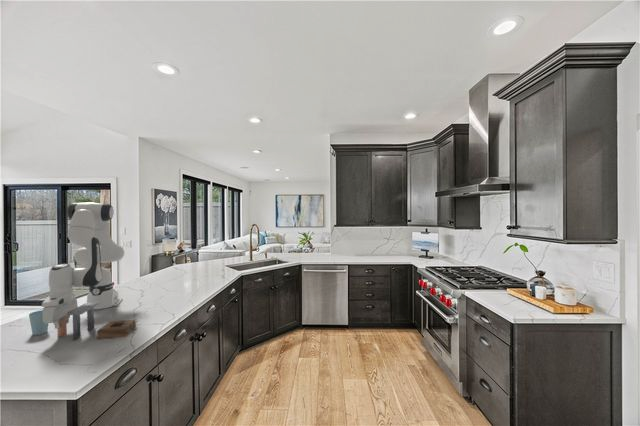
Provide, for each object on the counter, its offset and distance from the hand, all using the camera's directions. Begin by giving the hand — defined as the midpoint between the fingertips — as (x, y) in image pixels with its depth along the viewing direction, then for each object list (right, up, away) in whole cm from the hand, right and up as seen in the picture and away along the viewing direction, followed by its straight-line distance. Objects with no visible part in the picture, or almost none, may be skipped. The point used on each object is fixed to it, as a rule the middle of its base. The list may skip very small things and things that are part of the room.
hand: (62, 325), depth 146 cm
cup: (-14, -5, +3) cm, 15 cm away
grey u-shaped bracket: (+10, -4, +1) cm, 11 cm away
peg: (0, -5, 0) cm, 5 cm away
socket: (+26, -4, +1) cm, 27 cm away
